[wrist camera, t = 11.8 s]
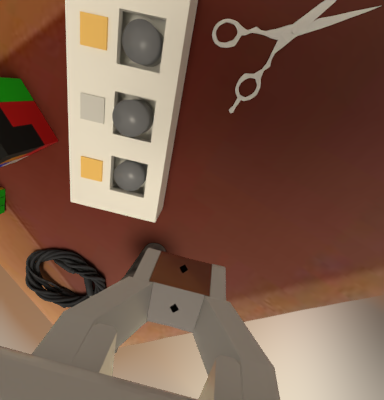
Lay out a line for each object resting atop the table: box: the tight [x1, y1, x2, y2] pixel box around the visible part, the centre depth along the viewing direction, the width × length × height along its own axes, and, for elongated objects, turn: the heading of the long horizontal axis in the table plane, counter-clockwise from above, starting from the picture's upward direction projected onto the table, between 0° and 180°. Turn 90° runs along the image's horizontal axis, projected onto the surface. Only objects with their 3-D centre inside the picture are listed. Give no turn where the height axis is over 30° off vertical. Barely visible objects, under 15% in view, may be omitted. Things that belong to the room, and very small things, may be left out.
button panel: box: [65, 0, 198, 223], centre depth 33 cm, size 14×30×5 cm, turn 169°
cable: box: [26, 250, 105, 308], centre depth 50 cm, size 17×14×4 cm
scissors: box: [212, 0, 380, 113], centre depth 29 cm, size 11×1×20 cm
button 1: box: [122, 19, 164, 67], centre depth 29 cm, size 4×4×4 cm
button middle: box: [112, 99, 154, 137], centre depth 31 cm, size 4×4×4 cm
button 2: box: [114, 160, 148, 191], centre depth 36 cm, size 4×4×4 cm
